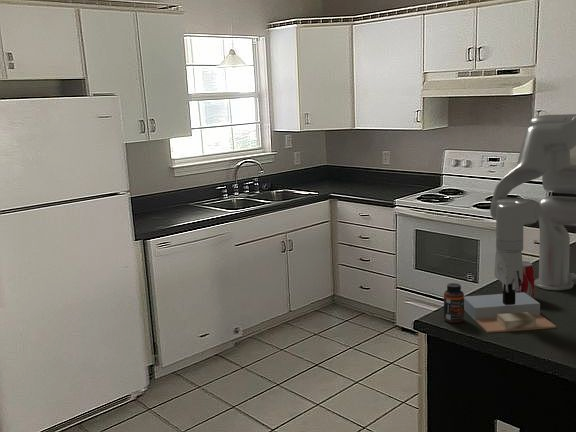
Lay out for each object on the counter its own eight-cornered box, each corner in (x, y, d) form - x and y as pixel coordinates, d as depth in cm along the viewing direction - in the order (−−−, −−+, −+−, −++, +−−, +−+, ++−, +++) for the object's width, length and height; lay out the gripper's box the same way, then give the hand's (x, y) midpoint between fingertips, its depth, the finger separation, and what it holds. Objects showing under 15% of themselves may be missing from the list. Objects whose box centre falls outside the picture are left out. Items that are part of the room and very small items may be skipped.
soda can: (536, 302, 191) (536, 266, 189) (513, 301, 192) (513, 266, 190) (531, 295, 198) (532, 260, 195) (509, 295, 199) (509, 260, 197)
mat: (539, 315, 179) (539, 314, 178) (556, 327, 169) (556, 326, 169) (475, 320, 178) (475, 319, 178) (487, 332, 168) (487, 331, 168)
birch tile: (536, 319, 168) (536, 327, 169) (527, 312, 174) (526, 319, 175) (505, 321, 168) (505, 329, 169) (497, 314, 174) (497, 321, 175)
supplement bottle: (450, 325, 176) (450, 288, 174) (440, 318, 181) (439, 283, 179) (468, 322, 177) (467, 286, 175) (457, 315, 183) (457, 280, 181)
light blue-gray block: (523, 304, 189) (524, 292, 189) (539, 315, 179) (540, 303, 178) (462, 308, 189) (462, 296, 188) (475, 320, 178) (475, 308, 177)
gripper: (487, 240, 180) (487, 297, 184) (507, 251, 166) (507, 313, 169) (511, 238, 181) (510, 295, 184) (533, 249, 166) (532, 311, 169)
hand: (509, 303), depth 176 cm, fingers closed
